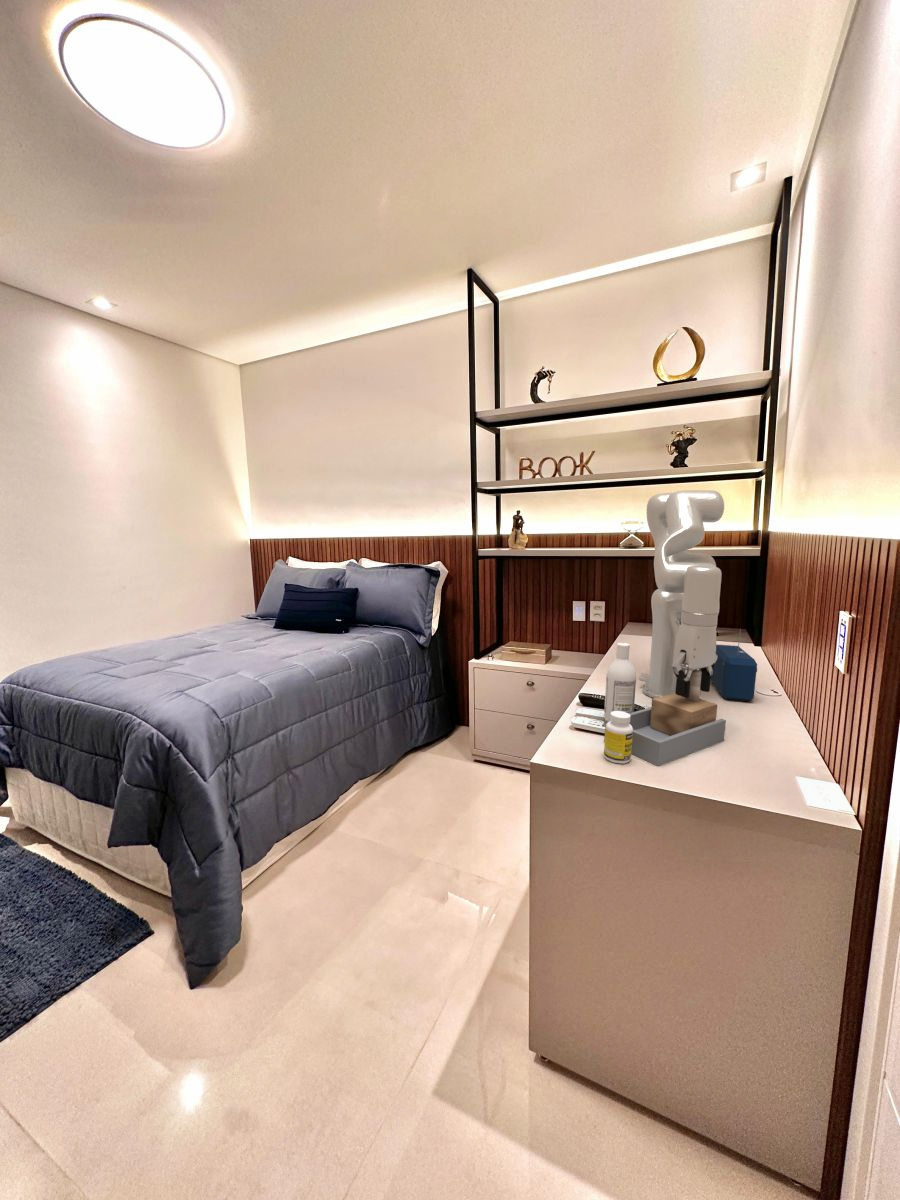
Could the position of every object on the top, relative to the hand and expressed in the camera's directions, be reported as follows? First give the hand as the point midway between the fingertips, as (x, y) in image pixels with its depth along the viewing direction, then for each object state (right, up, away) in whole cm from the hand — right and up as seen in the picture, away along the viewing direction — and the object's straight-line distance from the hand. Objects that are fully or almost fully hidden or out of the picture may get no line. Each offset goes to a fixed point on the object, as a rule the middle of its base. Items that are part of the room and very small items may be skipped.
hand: (692, 692), depth 119 cm
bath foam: (-15, -9, +7) cm, 19 cm away
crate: (-3, -9, 0) cm, 9 cm away
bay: (-8, -10, -4) cm, 14 cm away
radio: (+27, -6, +32) cm, 43 cm away
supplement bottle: (-22, -12, -12) cm, 28 cm away
